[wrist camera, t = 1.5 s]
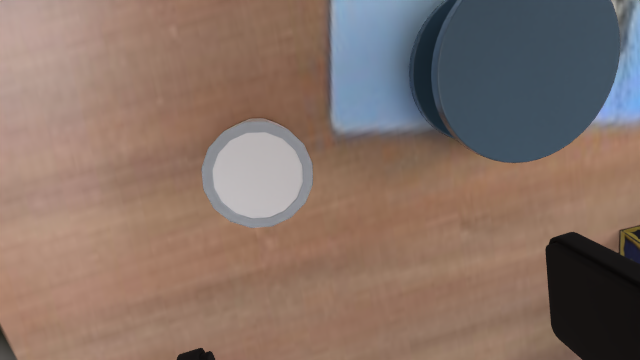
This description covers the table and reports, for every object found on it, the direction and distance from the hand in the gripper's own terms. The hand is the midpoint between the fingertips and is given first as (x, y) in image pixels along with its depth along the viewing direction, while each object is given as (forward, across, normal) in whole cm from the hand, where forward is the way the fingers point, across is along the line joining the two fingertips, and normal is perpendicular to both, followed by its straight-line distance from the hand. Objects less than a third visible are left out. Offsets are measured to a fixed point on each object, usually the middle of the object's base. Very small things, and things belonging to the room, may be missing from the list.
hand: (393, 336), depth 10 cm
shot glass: (+22, +3, -2) cm, 22 cm away
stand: (+22, -16, -4) cm, 27 cm away
